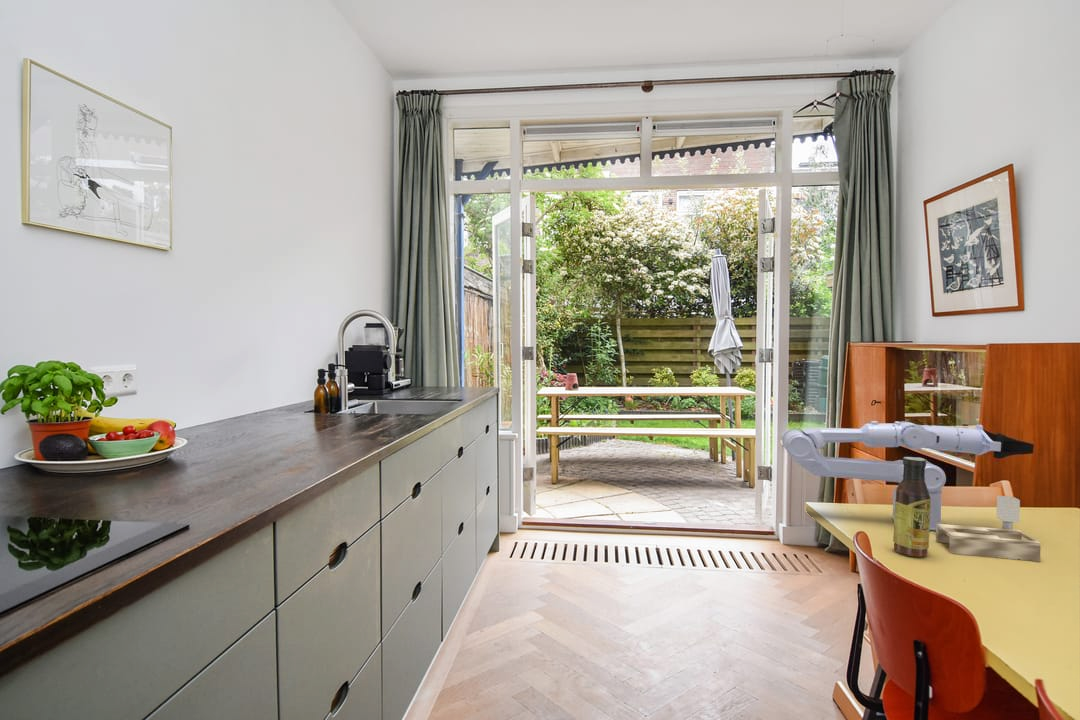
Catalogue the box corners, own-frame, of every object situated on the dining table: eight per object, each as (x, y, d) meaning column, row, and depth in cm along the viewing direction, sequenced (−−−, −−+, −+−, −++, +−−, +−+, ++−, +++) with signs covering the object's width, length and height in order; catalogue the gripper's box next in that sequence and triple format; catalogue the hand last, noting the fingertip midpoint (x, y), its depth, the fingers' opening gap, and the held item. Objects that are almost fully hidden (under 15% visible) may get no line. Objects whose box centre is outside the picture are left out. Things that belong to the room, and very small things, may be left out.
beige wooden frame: (951, 553, 119) (951, 535, 119) (935, 540, 127) (936, 523, 127) (1040, 561, 115) (1040, 542, 115) (1018, 547, 123) (1019, 530, 122)
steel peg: (1000, 541, 127) (1001, 499, 126) (990, 534, 131) (991, 494, 131) (1023, 543, 125) (1025, 501, 125) (1013, 536, 130) (1014, 496, 129)
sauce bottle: (917, 560, 115) (920, 462, 114) (886, 550, 120) (888, 457, 120) (935, 555, 118) (938, 459, 117) (904, 545, 124) (907, 454, 123)
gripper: (969, 426, 127) (1042, 432, 123) (944, 419, 141) (1009, 425, 137) (966, 457, 128) (1039, 465, 124) (941, 447, 141) (1007, 454, 138)
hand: (1023, 446), depth 131 cm, fingers open, 7 cm apart
